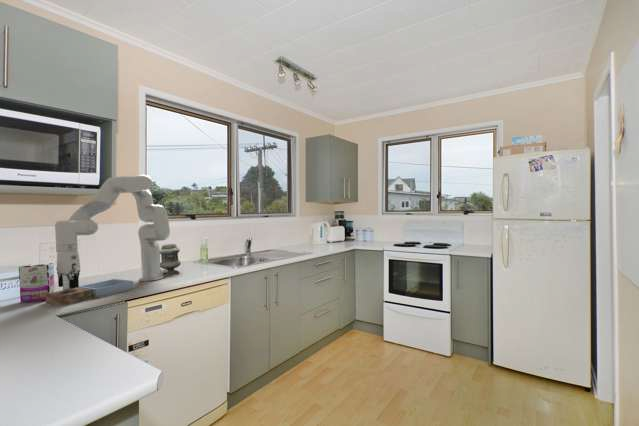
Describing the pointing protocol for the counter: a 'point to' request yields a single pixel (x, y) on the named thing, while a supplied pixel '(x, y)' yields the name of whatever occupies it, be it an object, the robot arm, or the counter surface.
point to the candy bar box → (36, 281)
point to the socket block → (68, 296)
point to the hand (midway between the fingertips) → (68, 286)
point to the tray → (108, 287)
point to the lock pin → (67, 284)
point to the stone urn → (169, 258)
